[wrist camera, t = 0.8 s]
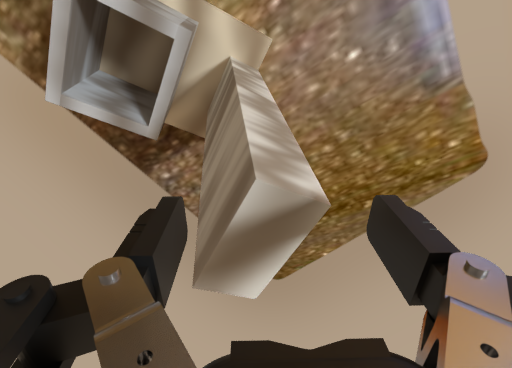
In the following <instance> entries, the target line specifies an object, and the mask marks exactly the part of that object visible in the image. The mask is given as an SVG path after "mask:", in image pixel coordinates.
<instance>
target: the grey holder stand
mask: <svg viewBox="0 0 512 368" xmlns="http://www.w3.org/2000/svg"><path fill="white" fill-rule="evenodd" d="M271 42H272V39H271V38H269V37H268V36H266V35H264V34H262V33H261V32H259V31H257V30H255V29H254V28H252V27H250V26H249V25H247V24H245V23H243V22H242V21H240V20H238V19H236V18H235V17H233V16H231V15H229V14H228V13H226V12H224V11H222V10H221V9H219V8H217V7H215V6H214V5H212V4H210V3H208V2H207V1H205V0H53V8H52V20H51V32H50V45H49V57H48V69H47V82H46V94H45V101H48V102H51V103H53V104H56V105H59V106H62V107H64V108H67V109H70V110H73V111H76V112H78V113H81V114H84V115H87V116H90V117H92V118H95V119H98V120H101V121H103V122H106V123H109V124H112V125H115V126H117V127H120V128H123V129H126V130H129V131H131V132H134V133H137V134H140V135H142V136H145V137H148V138H151V139H154V140H156V141H157V139H158V137H159V134H160V132H161V130H162V127H163V125H164V123H166V124H169V125H172V126H174V127H177V128H179V129H182V130H185V131H187V132H190V133H192V134H195V135H198V136H200V137H203V138H205V148H204V159H203V171H202V182H201V194H200V206H199V217H198V229H197V240H196V252H195V263H194V276H193V288H196V289H202V290H207V291H213V292H218V293H224V294H230V295H236V296H241V297H246V298H252V299H256V298H257V297H258V295H259V294H260V293H261V291H262V290H263V289H264V288H265V287H266V285H267V284H268V283H269V282H270V280H271V279H272V278H273V277H274V275H275V274H276V273H277V272H278V271H279V269H280V268H281V267H282V266H283V264H284V263H285V262H286V261H287V259H288V258H289V257H290V256H291V254H292V253H293V252H294V251H295V249H296V248H297V247H298V246H299V244H300V243H301V242H302V241H303V240H304V238H305V237H306V236H307V235H308V233H309V232H310V231H311V230H312V228H313V227H314V226H315V225H316V223H317V222H318V221H319V220H320V218H321V217H322V216H323V215H324V214H325V212H326V211H327V210H328V209H329V207H330V206H331V204H330V203H329V201H328V199H327V197H326V195H325V193H324V192H323V190H322V188H321V186H320V184H319V182H318V180H317V179H316V177H315V175H314V173H313V171H312V169H311V167H310V166H309V164H308V162H307V160H306V158H305V156H304V154H303V153H302V151H301V149H300V147H299V145H298V143H297V141H296V140H295V138H294V136H293V134H292V132H291V130H290V129H289V127H288V125H287V123H286V121H285V119H284V117H283V116H282V114H281V112H280V110H279V108H278V106H277V104H276V103H275V101H274V99H273V97H272V95H271V93H270V91H269V90H268V88H267V86H266V84H265V82H264V80H263V78H262V77H261V75H260V73H259V71H258V70H259V67H260V65H261V63H262V61H263V59H264V57H265V55H266V53H267V50H268V48H269V46H270V44H271Z"/></svg>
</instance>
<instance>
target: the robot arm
mask: <svg viewBox="0 0 512 368" xmlns="http://www.w3.org/2000/svg"><path fill="white" fill-rule="evenodd" d="M367 236H368V239H369V241H370V243H371V244H372V246H373V247H374V249H375V251H376V253H377V254H378V256H379V257H380V259H381V261H382V262H383V264H384V265H385V267H386V269H387V270H388V272H389V273H390V275H391V277H392V278H393V280H394V282H395V283H396V285H397V286H398V288H399V290H400V291H401V293H402V295H403V296H404V298H405V299H406V301H407V303H408V304H409V305H410V306H411V305H424V306H425V307H426V309H427V310H426V312H425V315H424V318H423V324H422V329H421V334H420V340H419V345H418V351H417V357H416V361H415V362H414V361H412V360H410V359H408V358H405V357H403V356H400V355H398V354H395V353H392V352H389V350H388V348H387V346H386V344H385V342H384V339H383V338H374V339H373V338H370V339H345V340H341V341H338V342H334V343H331V344H328V345H325V346H322V347H318V348H315V349H311V350H308V349H302V348H298V347H294V346H290V345H286V344H282V343H277V342H273V341H268V340H267V341H231V354H229V355H226V356H223V357H221V358H219V359H216V360H214V361H212V362H211V363H209V364H207V365H206V366H204V367H203V368H512V276H507V275H505V273H504V272H503V271H502V270H501V269H500V268H499V267H498V266H496V265H495V264H494V263H492V262H491V261H489V260H487V259H485V258H483V257H480V256H478V255H475V254H470V253H465V252H460V251H459V250H458V249H457V248H456V247H455V246H454V245H453V244H452V243H451V242H450V241H449V240H448V239H447V238H446V237H445V236H444V235H443V234H442V233H441V232H440V231H439V230H437V229H436V227H435V226H434V225H433V224H431V223H430V222H429V221H428V220H427V219H426V218H425V217H424V216H423V215H422V214H421V213H419V212H418V211H416V210H414V209H412V208H411V207H407V206H406V205H405V203H404V202H403V201H402V200H401V199H400V198H399V197H398V196H396V195H376V196H375V197H374V199H373V202H372V207H371V211H370V215H369V219H368V224H367ZM186 241H187V222H186V216H185V208H184V201H183V198H182V197H181V196H180V197H162V199H161V200H160V202H159V204H158V206H157V207H156V209H148V210H147V211H146V212H144V213H143V214H142V215H141V216H140V217H139V218H138V220H137V221H136V222H135V224H134V226H133V227H132V229H131V230H130V233H128V235H127V236H126V238H125V239H124V241H123V242H122V244H121V245H120V247H119V248H118V250H117V251H116V253H115V255H114V256H113V258H109V259H106V260H103V261H101V262H99V263H97V264H95V265H94V266H93V267H91V268H90V269H89V270H88V271H87V272H86V274H85V275H84V277H83V279H80V280H77V281H73V282H68V283H65V284H60V285H56V286H52V284H51V282H50V280H49V279H48V278H47V277H45V276H43V275H30V276H26V277H23V278H20V279H17V280H15V281H13V282H10V283H8V284H7V285H5V286H3V287H2V288H0V368H10V367H11V365H12V364H13V363H14V364H13V365H12V367H11V368H71V366H72V364H73V362H74V360H75V358H76V357H77V356H80V355H83V354H86V353H89V352H92V351H95V350H97V353H98V357H99V360H100V364H101V368H196V366H195V364H194V362H193V361H192V359H191V357H190V355H189V353H188V351H187V350H186V348H185V346H184V344H183V343H182V341H181V339H180V337H179V335H178V333H177V332H176V330H175V328H174V326H173V325H172V323H171V321H170V319H169V317H168V316H167V314H166V312H165V310H164V308H165V306H166V303H167V300H168V297H169V294H170V291H171V288H172V285H173V282H174V278H175V275H176V272H177V269H178V266H179V263H180V260H181V257H182V254H183V251H184V248H185V244H186ZM16 358H17V359H16ZM15 360H16V361H15ZM14 361H15V362H14Z"/></svg>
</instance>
